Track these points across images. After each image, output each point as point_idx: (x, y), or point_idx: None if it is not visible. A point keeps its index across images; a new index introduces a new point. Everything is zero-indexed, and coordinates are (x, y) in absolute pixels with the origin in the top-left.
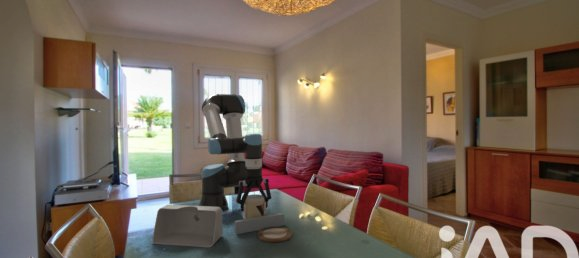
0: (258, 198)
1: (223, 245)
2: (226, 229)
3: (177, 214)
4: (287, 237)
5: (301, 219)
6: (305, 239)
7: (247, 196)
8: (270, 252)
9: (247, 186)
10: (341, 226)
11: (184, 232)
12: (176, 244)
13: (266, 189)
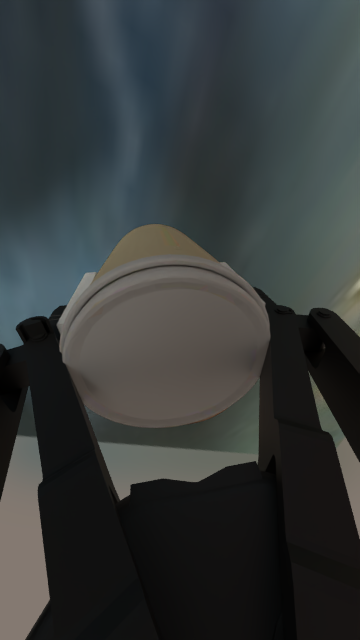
0: (197, 403)
1: (23, 411)
2: (5, 302)
3: None
4: (210, 417)
5: (345, 304)
6: (245, 417)
7: (105, 321)
8: (147, 445)
9: (67, 529)
10: None
11: None
12: None
13: (349, 411)
